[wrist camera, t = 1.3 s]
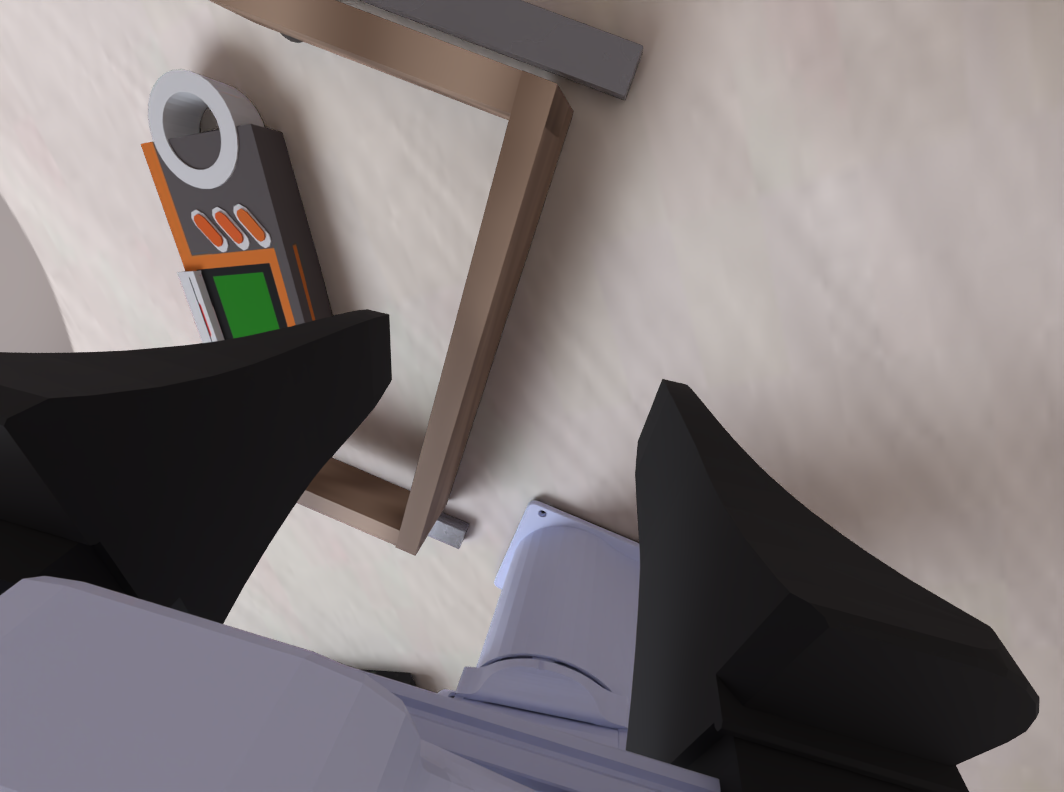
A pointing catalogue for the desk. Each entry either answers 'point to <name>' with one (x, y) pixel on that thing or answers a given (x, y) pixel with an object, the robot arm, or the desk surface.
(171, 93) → the electronic device
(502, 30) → the track
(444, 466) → the dolly
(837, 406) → the desk surface
